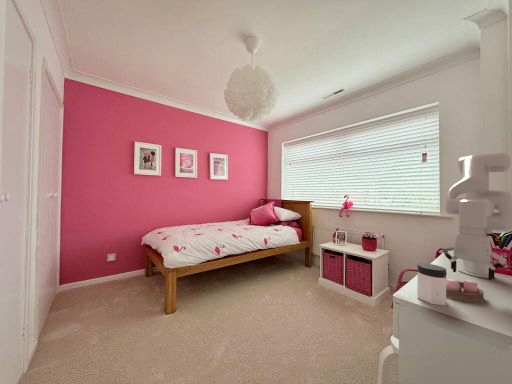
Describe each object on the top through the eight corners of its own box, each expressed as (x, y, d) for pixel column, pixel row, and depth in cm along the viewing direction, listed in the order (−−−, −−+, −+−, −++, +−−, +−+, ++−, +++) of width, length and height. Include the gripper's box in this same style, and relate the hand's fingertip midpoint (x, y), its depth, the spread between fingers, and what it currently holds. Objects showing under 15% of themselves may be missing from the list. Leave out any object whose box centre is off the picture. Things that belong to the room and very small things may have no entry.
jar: (424, 303, 73) (425, 269, 73) (411, 293, 81) (411, 262, 81) (453, 306, 72) (454, 271, 72) (436, 295, 80) (437, 264, 80)
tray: (433, 281, 94) (433, 274, 94) (484, 294, 82) (484, 287, 82) (424, 290, 84) (424, 283, 84) (481, 307, 72) (481, 298, 72)
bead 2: (464, 290, 82) (464, 279, 82) (477, 294, 79) (477, 282, 79) (463, 293, 80) (463, 281, 80) (476, 296, 77) (477, 284, 77)
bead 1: (447, 289, 82) (447, 278, 83) (459, 292, 80) (459, 281, 80) (445, 292, 80) (445, 280, 80) (458, 295, 77) (458, 283, 77)
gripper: (506, 233, 77) (506, 279, 77) (444, 227, 90) (443, 266, 90) (506, 236, 72) (506, 285, 72) (440, 229, 85) (440, 270, 86)
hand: (471, 275), depth 81 cm, fingers open, 9 cm apart
